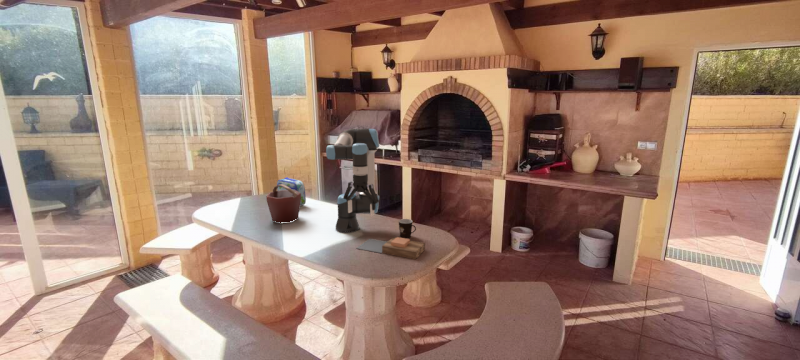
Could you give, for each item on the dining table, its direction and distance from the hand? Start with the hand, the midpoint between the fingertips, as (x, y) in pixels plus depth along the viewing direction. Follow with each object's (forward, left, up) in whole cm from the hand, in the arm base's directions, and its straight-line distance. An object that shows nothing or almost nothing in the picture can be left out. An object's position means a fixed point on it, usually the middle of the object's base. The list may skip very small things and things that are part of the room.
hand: (361, 214), depth 199 cm
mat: (-18, -2, -25) cm, 31 cm away
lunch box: (-65, -102, -25) cm, 123 cm away
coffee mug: (-38, +9, -25) cm, 47 cm away
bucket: (-33, -81, -25) cm, 91 cm away
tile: (-18, +14, -21) cm, 31 cm away
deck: (-18, +16, -25) cm, 35 cm away
